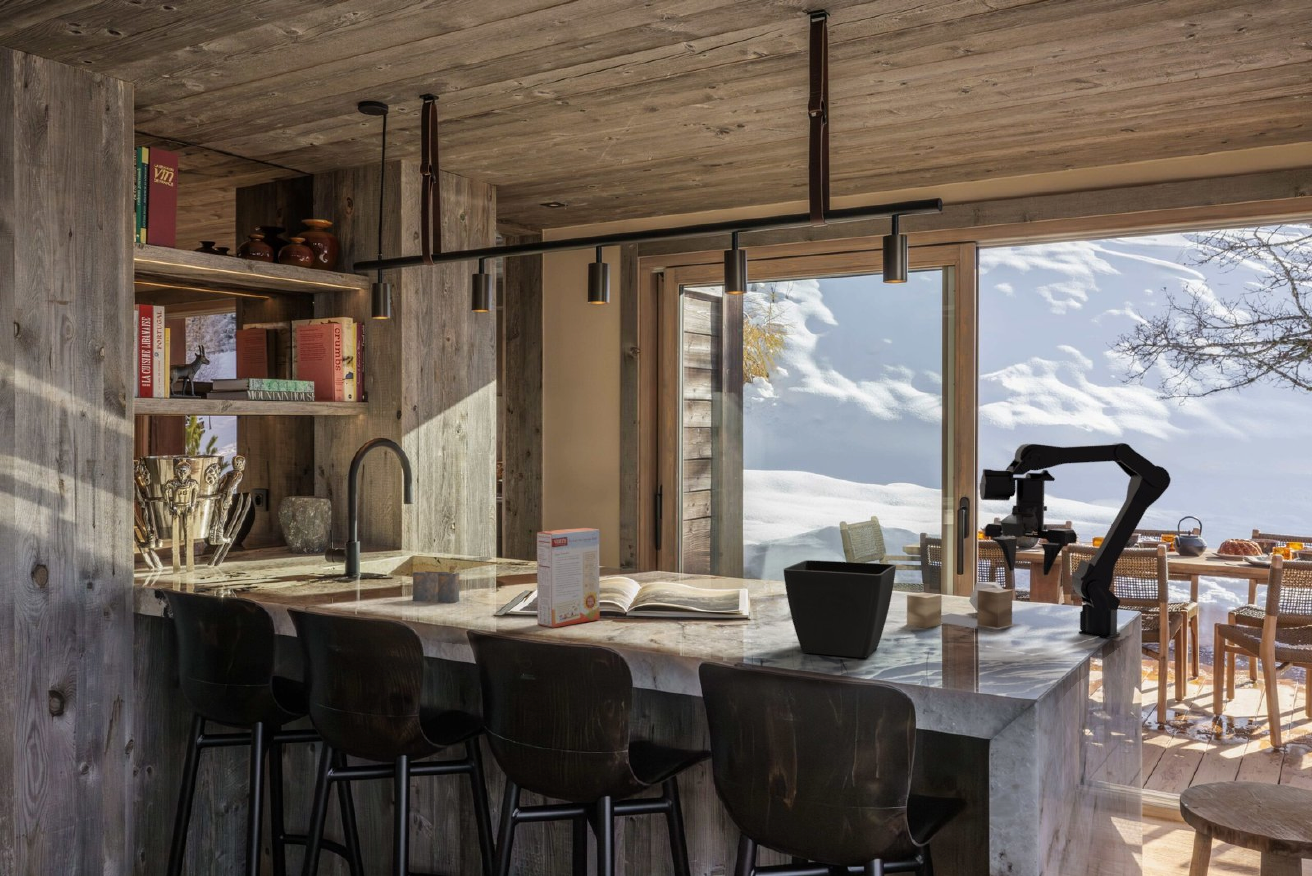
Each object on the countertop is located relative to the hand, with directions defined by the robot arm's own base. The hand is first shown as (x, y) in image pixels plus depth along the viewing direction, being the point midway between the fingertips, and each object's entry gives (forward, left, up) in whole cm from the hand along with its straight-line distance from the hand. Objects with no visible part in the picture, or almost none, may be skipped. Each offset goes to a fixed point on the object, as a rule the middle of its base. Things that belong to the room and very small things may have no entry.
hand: (1028, 572), depth 219 cm
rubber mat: (+14, 0, -13) cm, 19 cm away
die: (+17, -13, -13) cm, 25 cm away
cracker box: (+72, +71, -13) cm, 102 cm away
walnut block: (+8, 0, -13) cm, 15 cm away
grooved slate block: (+116, +80, -14) cm, 142 cm away
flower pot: (+15, +46, -13) cm, 50 cm away
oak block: (+19, +11, -13) cm, 26 cm away
